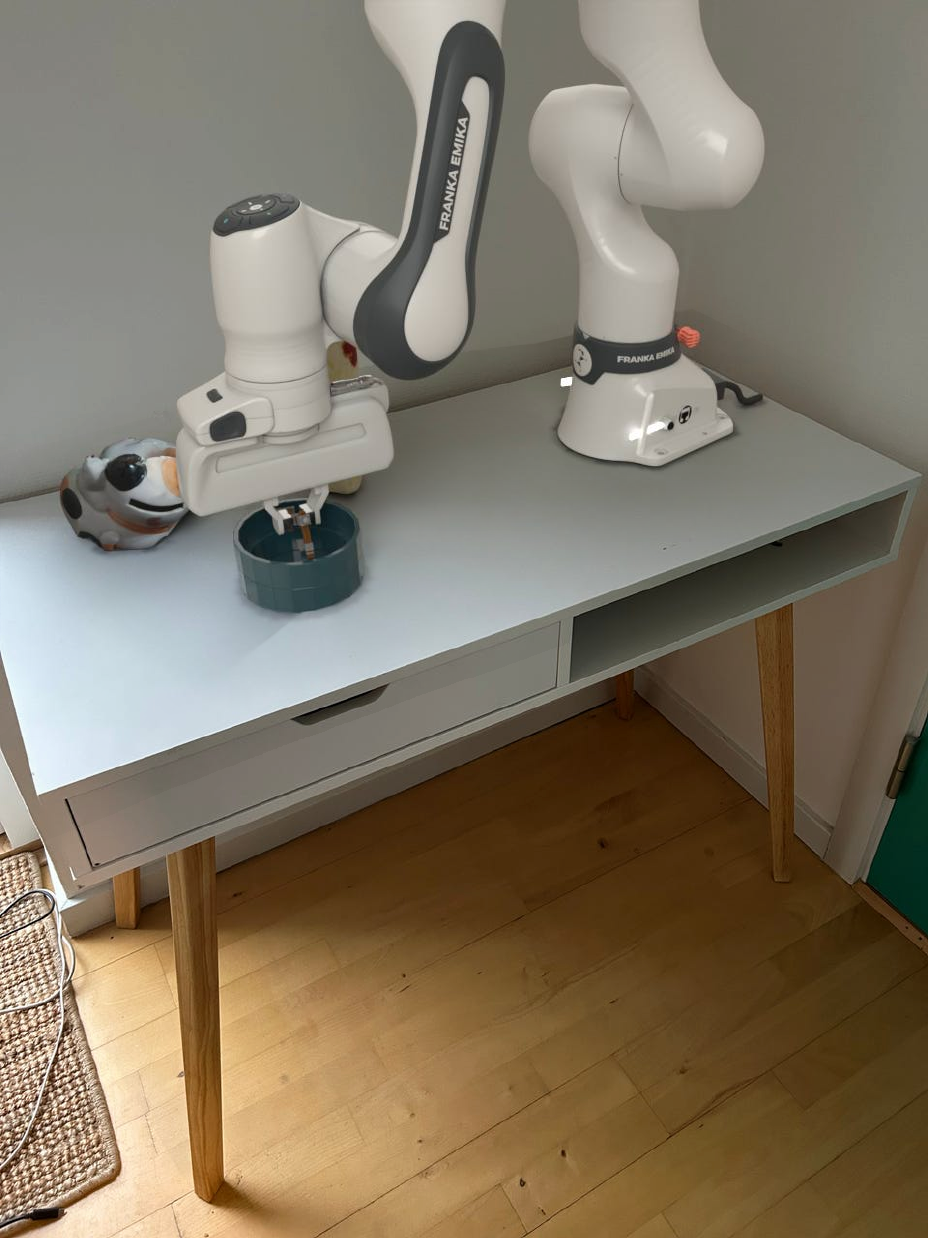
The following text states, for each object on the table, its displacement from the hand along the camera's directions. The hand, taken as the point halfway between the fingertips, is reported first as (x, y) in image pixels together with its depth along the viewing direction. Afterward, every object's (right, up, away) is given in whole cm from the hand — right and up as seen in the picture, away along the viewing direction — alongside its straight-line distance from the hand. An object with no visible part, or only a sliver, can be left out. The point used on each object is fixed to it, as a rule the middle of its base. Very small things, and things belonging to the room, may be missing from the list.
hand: (297, 527), depth 96 cm
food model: (+2, +7, +20) cm, 21 cm away
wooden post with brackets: (0, -1, +1) cm, 2 cm away
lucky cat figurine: (-18, +1, +12) cm, 22 cm away
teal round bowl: (0, -5, +4) cm, 6 cm away
